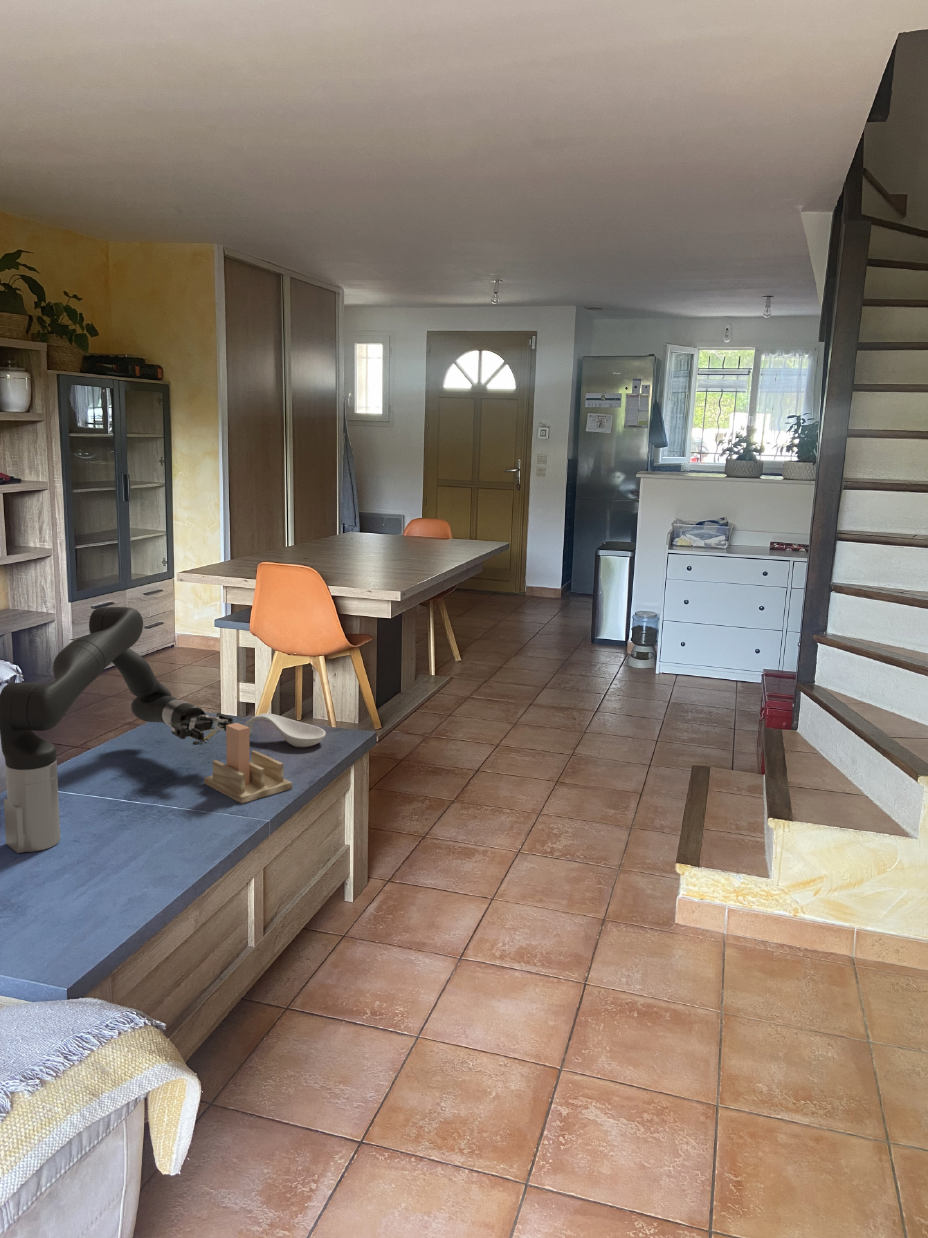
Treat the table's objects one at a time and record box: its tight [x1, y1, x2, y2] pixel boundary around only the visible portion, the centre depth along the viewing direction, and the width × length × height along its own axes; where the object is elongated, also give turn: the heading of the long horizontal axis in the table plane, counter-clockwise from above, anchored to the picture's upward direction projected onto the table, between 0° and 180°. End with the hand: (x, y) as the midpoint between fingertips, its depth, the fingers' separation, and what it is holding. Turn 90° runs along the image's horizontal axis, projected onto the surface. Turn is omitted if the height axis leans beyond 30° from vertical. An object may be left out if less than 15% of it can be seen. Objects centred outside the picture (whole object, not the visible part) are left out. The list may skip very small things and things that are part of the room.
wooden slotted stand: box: [203, 749, 293, 804], centre depth 217 cm, size 14×16×6 cm
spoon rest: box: [243, 712, 327, 748], centre depth 249 cm, size 24×12×7 cm, turn 77°
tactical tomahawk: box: [192, 725, 223, 745], centre depth 254 cm, size 21×7×1 cm, turn 171°
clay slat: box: [225, 722, 251, 785], centre depth 214 cm, size 3×5×14 cm, turn 48°
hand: (218, 733), depth 219 cm, fingers open, 8 cm apart
